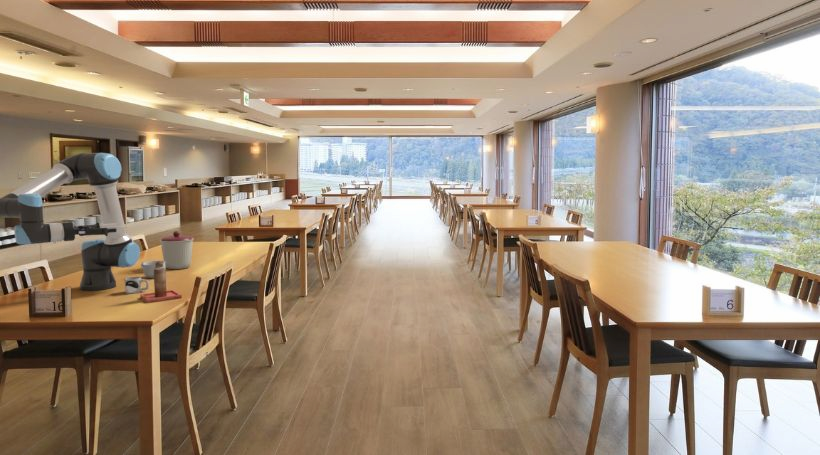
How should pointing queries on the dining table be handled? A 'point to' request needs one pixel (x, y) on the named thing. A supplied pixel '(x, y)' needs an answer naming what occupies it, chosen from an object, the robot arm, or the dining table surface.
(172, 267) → the canister
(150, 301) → the tray
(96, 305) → the dining table surface
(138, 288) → the mug
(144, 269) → the teacup
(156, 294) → the pepper mill
